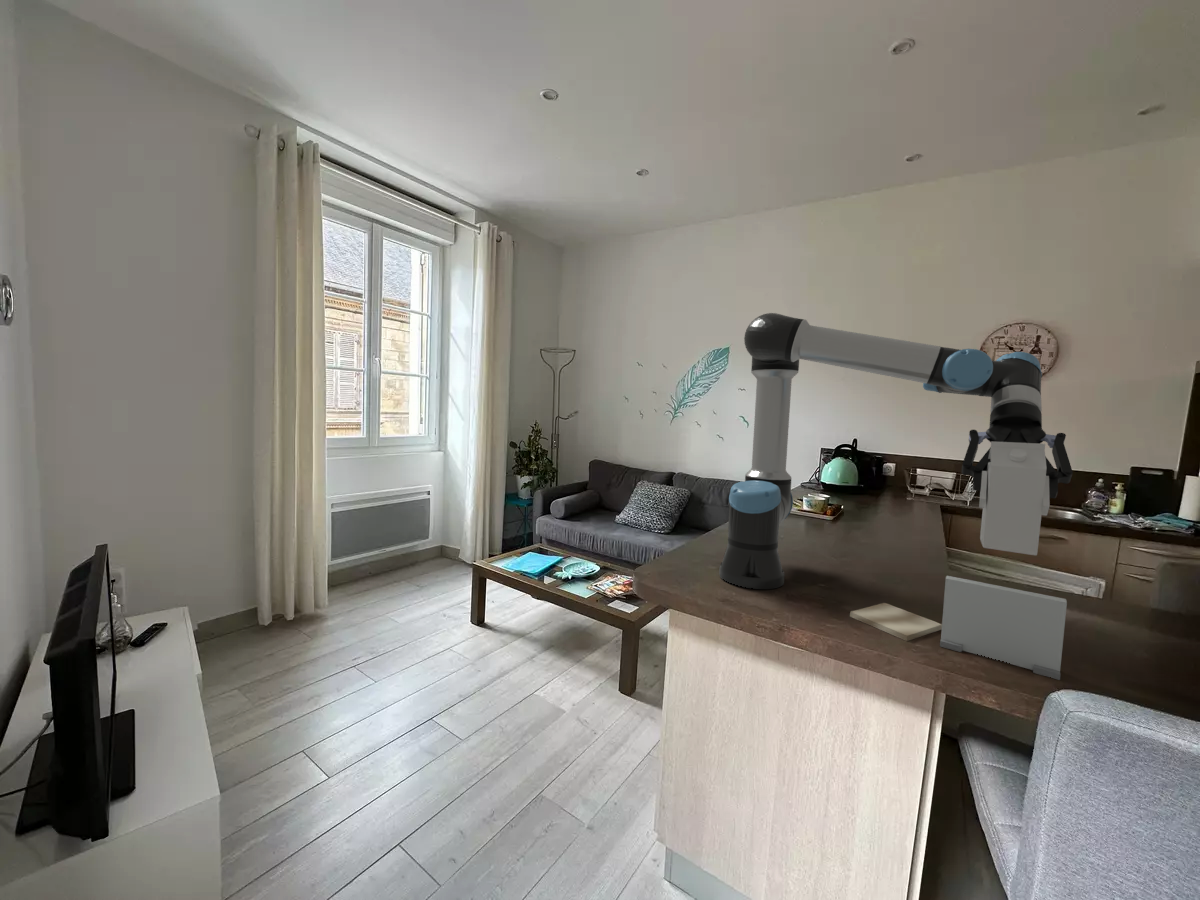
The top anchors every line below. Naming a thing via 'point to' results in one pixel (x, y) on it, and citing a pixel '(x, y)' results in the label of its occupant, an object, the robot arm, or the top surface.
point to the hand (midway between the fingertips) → (1012, 506)
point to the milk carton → (1014, 497)
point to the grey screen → (1004, 624)
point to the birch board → (896, 621)
